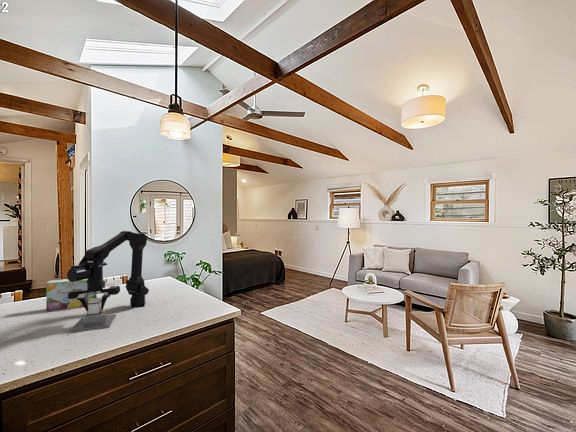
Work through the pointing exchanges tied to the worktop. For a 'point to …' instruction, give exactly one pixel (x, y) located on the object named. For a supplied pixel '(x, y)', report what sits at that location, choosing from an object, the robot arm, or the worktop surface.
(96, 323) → the stand base
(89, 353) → the worktop surface
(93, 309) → the gray rectangular plug
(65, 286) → the snack box
